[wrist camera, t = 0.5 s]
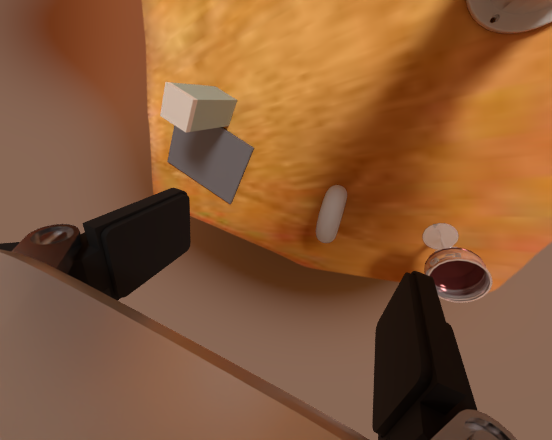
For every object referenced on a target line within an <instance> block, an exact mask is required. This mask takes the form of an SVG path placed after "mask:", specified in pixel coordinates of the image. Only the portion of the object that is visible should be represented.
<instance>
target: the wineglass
mask: <svg viewBox="0 0 552 440" xmlns="http://www.w3.org/2000/svg"><path fill="white" fill-rule="evenodd" d="M457 240H458V232H457V230H456V229H455V228H454V227H452V226H451V225H448V224H445V223H438V224H434V225H431V226H429V227H428V228H427V229H426V230H425V231H424V233H423V241H424V243H425V244H426V245H427V246H429V247H430V248H433V249H438V250H437V251H435V252H434V253H432V254H431V255H430V256H429V258H428V259H427V261H426V263H425V269H424V273H425V274H426V275H429V276H431V277H433V279H434V282H435V286H436V289H437V293H438V296H439V297H440V298H442V299H444V300H447V301H452V302H458V303H461V302H471V301H474V300H478V299H479V298H481V297H483V296H485V295H486V294H487V293H488V291H489V290H490V289H491V286H492V278H491V274H490V273H489V272H488V270H487V269H486V265H485V264H484V262H483V261H482V259H481V258H480V257H479V256H478V255H476V254H475V253H473V252H472V251H469V250H466V249H463V248H460V247H452V246H453V245H454V244H455V243H456V242H457Z"/></svg>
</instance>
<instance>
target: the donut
mask: <svg viewBox="0 0 552 440" xmlns="http://www.w3.org/2000/svg"><path fill="white" fill-rule="evenodd" d="M346 200H347V191H346V189H345V188H344V187H343V186H340V185H334V186H332V187H330V188H329V189H328V191H327V192H326V194H325V197H324V200H323V202H322V206H321V209H320V212H319V216H318V221H317V226H316V236H317V238H318V240H319V241H321V242H323V243H330V242H332V241H333V240H334V239H335V237H336V235H337V232H338V228H339V225H340V222H341V218H342V215H343V211H344V207H345V204H346Z"/></svg>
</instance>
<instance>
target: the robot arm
mask: <svg viewBox="0 0 552 440" xmlns="http://www.w3.org/2000/svg"><path fill="white" fill-rule="evenodd" d="M466 3H467V8H468V10H469V12H470V14H471V16H472V17H473V19H474V20H475V21H476V22H477V23H478V24H479V25H481V26H482V27H484V28H486V29H487V30H490V31H493V32H497V33H506V34H513V33H521V32H526V31H530V30H533V29H536V28H539V27H542V26H544V25H546V24H549V23H551V22H552V0H466ZM491 18H494V19H495V21H494V22H493V23H491V22H490V19H491ZM83 227H84V230H85V233H83V234H80V231H79V229H78V227H76V226H74V225H69V224H56V225H50V226H45V227H42V228H39V229H37V230H34V231H32V232H31V233H29V234H28V235H27V236H25V238H24V239H23V240H22V241H21V242H16V243H3V244H0V440H369V439H367V438H365V437H364V436H362V435H361V434H359V433H357V432H356V431H354V430H353V429H351V428H349V427H347V426H345V425H344V424H342V423H340V422H339V421H337V420H335V419H333V418H331V417H330V416H328V415H326V414H324V413H323V412H321V411H319V410H317V409H316V408H314V407H312V406H310V405H309V404H306V403H305V402H303V401H302V400H300V399H298V398H296V397H294V396H293V395H291V394H289V393H287V392H285V391H284V390H282V389H280V388H278V387H276V386H274V385H273V384H271V383H269V382H267V381H265V380H263V379H261V378H260V377H258V376H256V375H254V374H252V373H251V372H249V371H247V370H245V369H243V368H241V367H240V366H238V365H236V364H234V363H232V362H230V361H229V360H227V359H225V358H223V357H221V356H219V355H218V354H216V353H214V352H212V351H210V350H208V349H206V348H205V347H203V346H201V345H199V344H197V343H195V342H194V341H192V340H190V339H188V338H186V337H184V336H182V335H180V334H179V333H177V332H175V331H173V330H171V329H169V328H168V327H166V326H164V325H161V324H160V323H158V322H156V321H154V320H153V319H151V318H149V317H147V316H145V315H143V314H141V313H140V312H138V311H136V310H134V309H132V308H130V307H128V306H127V305H125V304H122V303H121V302H119V301H118V300H119V299H120V298H122V297H126V296H127V295H129V294H130V293H131V292H133V291H134V290H136V289H137V288H138V287H140V286H141V285H142V284H144V283H145V282H146V281H148V280H149V279H150V278H151V277H153V276H154V275H156V274H157V273H158V272H160V271H161V270H162V269H164V268H165V267H166V266H168V265H169V264H170V263H172V262H173V261H174V260H176V259H177V258H178V257H180V256H181V255H182V254H184V253H185V252H186V251H187V250H188V249H189V247H190V205H189V197H188V196H187V193H186V192H185V191H182V190H179V189H176V188H170V189H168V190H165V191H163V192H160V193H158V194H155V195H153V196H150V197H148V198H145V199H143V200H140V201H138V202H135V203H133V204H130V205H127V206H125V207H123V208H120V209H117V210H115V211H113V212H110V213H107V214H105V215H102V216H100V217H97V218H95V219H92V220H90V221H87V222H85V223H83ZM373 397H374V398H373V431H374V432H376V433H378V440H517V439H516V438H515V437H514V436H513V435H512V433H511V432H509V431H508V430H507V429H506V428H505V427H503V426H502V425H501V424H500V423H499V422H498V421H496V420H494V419H493V418H491V417H490V416H488V415H487V414H484V413H482V412H479V411H477V407H476V404H475V401H474V398H473V395H472V391H471V388H470V385H469V381H468V378H467V375H466V372H465V368H464V365H463V362H462V359H461V355H460V352H459V349H458V345H457V342H456V339H455V336H454V332H453V330H452V327H451V325H449V324H448V323H446V321H445V317H444V314H443V311H442V307H441V304H440V300H439V296H438V293H437V289H436V286H435V282H434V279H433V277H431V276H429V275H426V274H423V273H420V272H417V271H413V272H412V273H411V274H410V273H405V275H404V276H403V278H402V280H401V282H400V283H399V286H398V287H397V289H396V291H395V292H394V294H393V296H392V298H391V300H390V301H389V303H388V305H387V307H386V309H385V310H384V312H383V314H382V316H381V318H380V319H379V321H378V324H377V327H376V337H375V366H374V396H373Z"/></svg>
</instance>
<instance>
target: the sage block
mask: <svg viewBox="0 0 552 440" xmlns="http://www.w3.org/2000/svg"><path fill="white" fill-rule="evenodd" d="M236 102H237V100H236V99H235V98H233V97H231V96H230V95H228V94H226V93H225V92H223V91H222V90H220V89H218V88H217V87H215V86H204V85H192V84H181V83H170V82H166V83H165V89H164V95H163V102H162V108H161V115H160V116H161V117H163V118H164V119H166V120H167V121H169V122H170V123H172V124H174V125H175V126H177V127H178V128H180V129H181V130H183V131H184V132H193V131H199V130H206V129H212V128H219V127H225V126H229V124H230V121H231V117H232V114H233V111H234V108H235V105H236Z"/></svg>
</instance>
